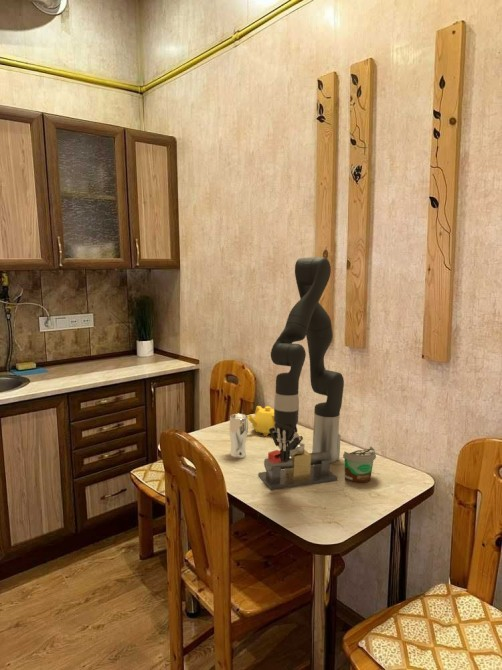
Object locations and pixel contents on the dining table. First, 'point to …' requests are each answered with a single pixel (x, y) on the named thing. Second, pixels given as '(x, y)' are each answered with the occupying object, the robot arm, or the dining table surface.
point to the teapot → (263, 420)
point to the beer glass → (238, 434)
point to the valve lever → (275, 455)
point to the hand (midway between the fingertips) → (284, 461)
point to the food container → (359, 465)
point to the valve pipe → (298, 470)
